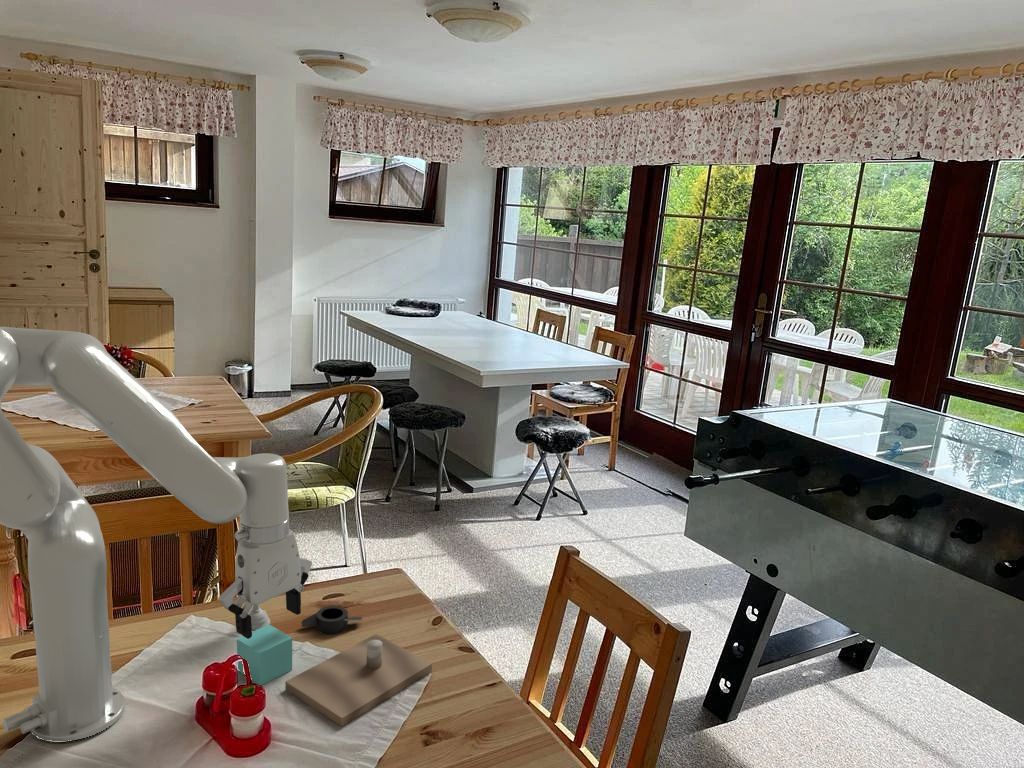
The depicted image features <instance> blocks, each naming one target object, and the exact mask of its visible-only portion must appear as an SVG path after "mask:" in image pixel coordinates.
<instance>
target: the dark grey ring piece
mask: <svg viewBox="0 0 1024 768" xmlns="http://www.w3.org/2000/svg"><path fill="white" fill-rule="evenodd" d="M362 620H363V619H362V616H354V617H353V616H352V617H351V616H349V612H348V610H347V608H345V607H342V606H338V605H329V606H325V607H321V608H320V609H319V610H317V611H316V612H315V613H314V614H312V615H310V616H308V617H307V618H306V617H305V618H304V619H302V620H301V625H302V627H301V628H305V627H316V631H317V632H318V633H320V634H323V635H329V636H330V635H331V636H332V635H338V634H341V633H342V632H344V631H346V630H347V628H348V626H349V625H348V623H349V622H358V621H362Z"/></svg>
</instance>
